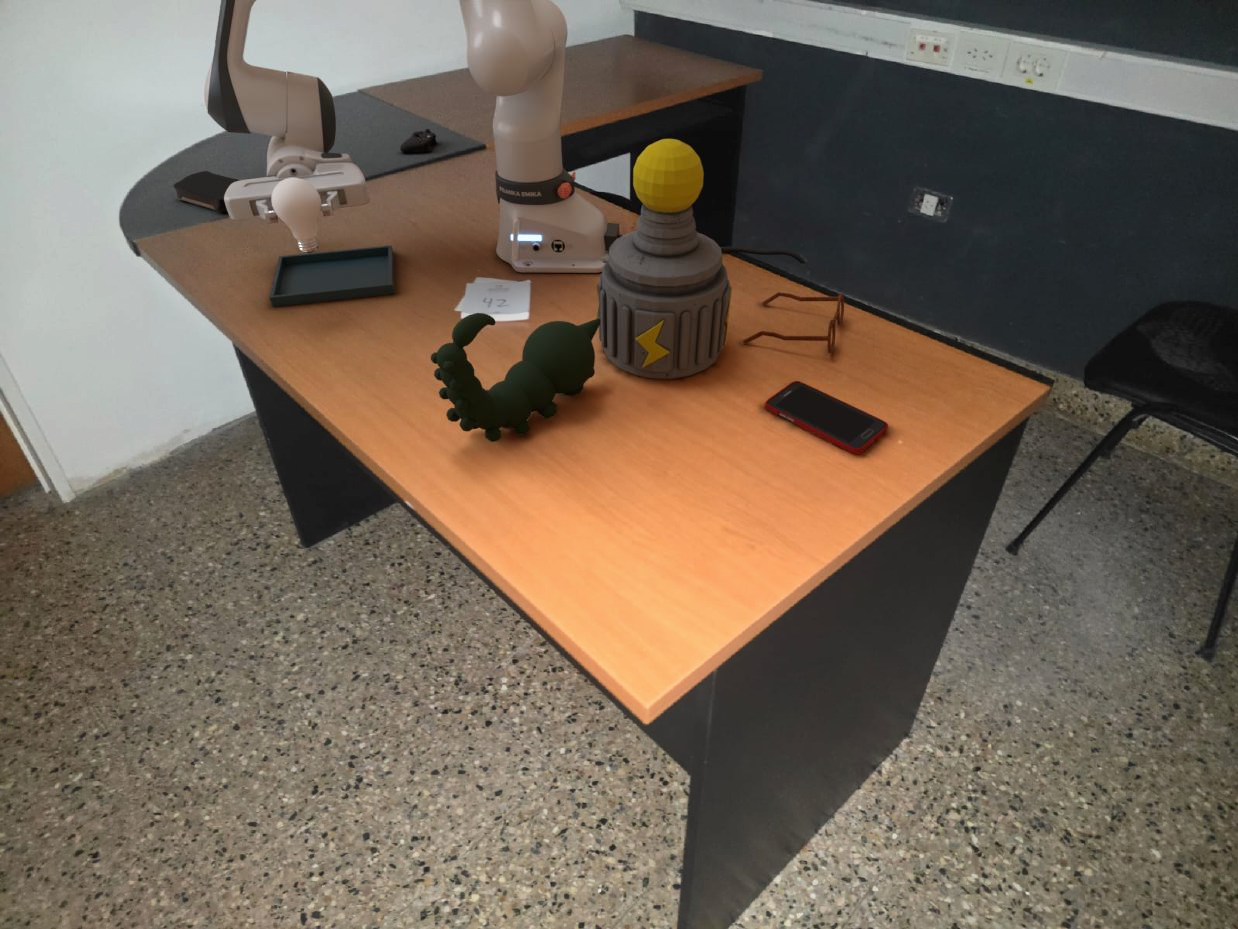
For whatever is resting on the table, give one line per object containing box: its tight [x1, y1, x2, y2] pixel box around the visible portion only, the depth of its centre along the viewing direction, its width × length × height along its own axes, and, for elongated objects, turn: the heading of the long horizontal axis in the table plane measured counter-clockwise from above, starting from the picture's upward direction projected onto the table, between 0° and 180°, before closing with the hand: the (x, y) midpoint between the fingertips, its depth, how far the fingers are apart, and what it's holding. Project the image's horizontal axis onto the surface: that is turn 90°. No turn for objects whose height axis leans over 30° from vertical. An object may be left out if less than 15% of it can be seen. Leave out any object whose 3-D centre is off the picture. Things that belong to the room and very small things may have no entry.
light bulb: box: [271, 178, 322, 254], centre depth 114 cm, size 7×7×11 cm
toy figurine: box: [430, 312, 601, 443], centre depth 99 cm, size 9×19×25 cm
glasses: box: [742, 291, 845, 354], centre depth 119 cm, size 13×13×5 cm
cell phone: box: [764, 380, 889, 455], centre depth 103 cm, size 8×15×1 cm, turn 46°
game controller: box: [399, 128, 438, 154], centre depth 183 cm, size 10×5×6 cm
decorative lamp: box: [595, 138, 733, 380], centre depth 108 cm, size 19×19×30 cm
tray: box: [269, 244, 395, 308], centre depth 134 cm, size 19×15×2 cm
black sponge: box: [173, 170, 241, 213], centre depth 159 cm, size 16×8×4 cm, turn 59°
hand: (299, 214), depth 113 cm, fingers closed on light bulb, 6 cm apart
